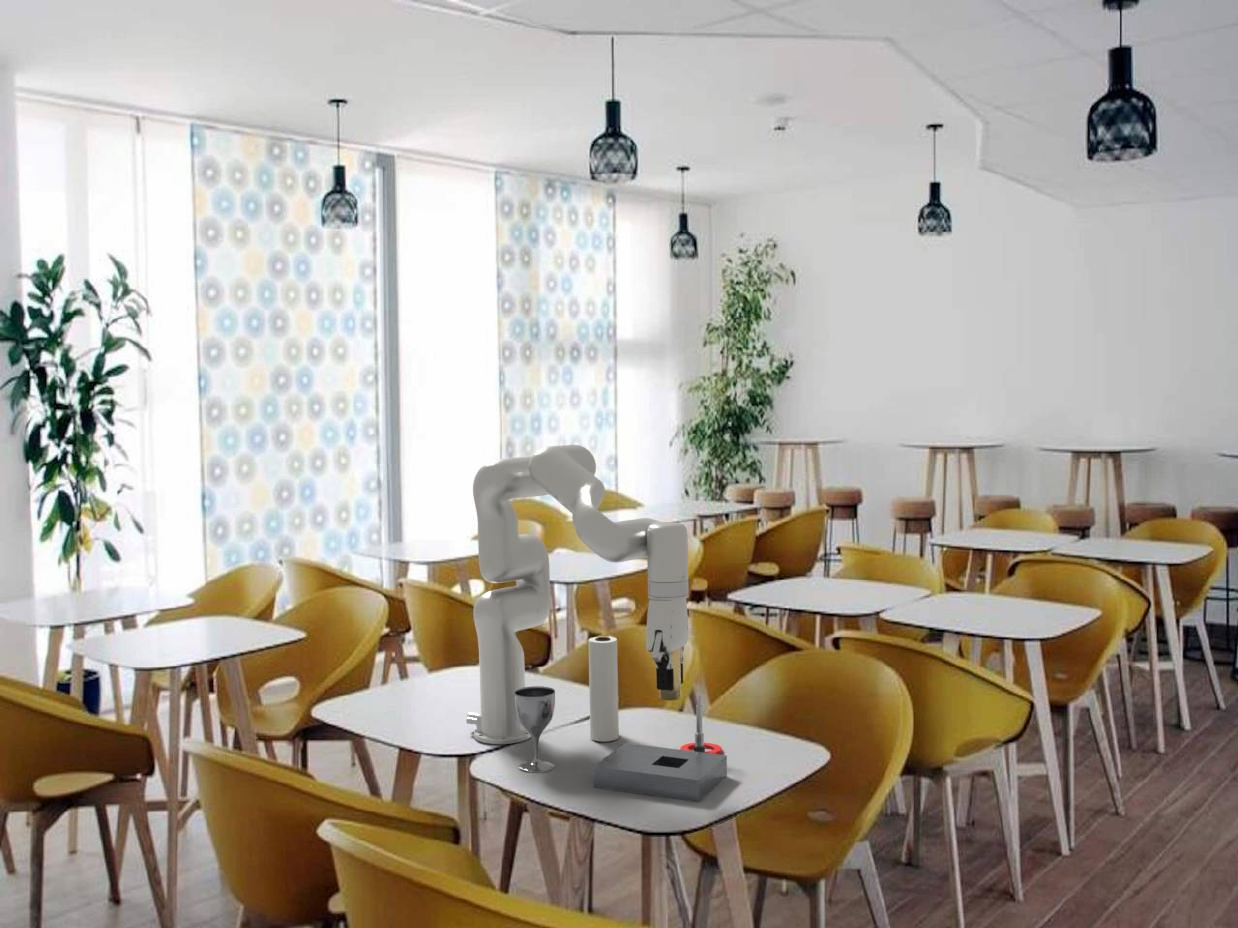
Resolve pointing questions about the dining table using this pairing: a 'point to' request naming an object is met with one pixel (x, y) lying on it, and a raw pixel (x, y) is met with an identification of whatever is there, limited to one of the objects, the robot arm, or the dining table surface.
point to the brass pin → (676, 667)
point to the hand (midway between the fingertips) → (670, 685)
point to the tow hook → (701, 735)
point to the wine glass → (535, 719)
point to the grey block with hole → (660, 772)
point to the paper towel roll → (603, 688)
